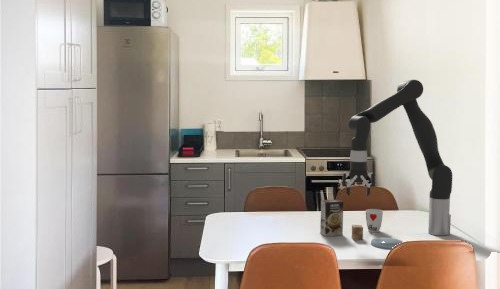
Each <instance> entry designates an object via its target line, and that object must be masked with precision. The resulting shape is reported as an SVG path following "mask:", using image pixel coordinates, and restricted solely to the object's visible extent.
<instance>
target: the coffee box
mask: <svg viewBox="0 0 500 289" xmlns="http://www.w3.org/2000/svg"><path fill="white" fill-rule="evenodd" d="M319 225H320V229H319V230H320V232H319V233H320V234H321V235H322V236H325V237H330V236H331V237H334V236H343V235H344V234H343V231H344V230H343V228H344V201H343V200H341V199H322V200H320V224H319Z"/></svg>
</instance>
